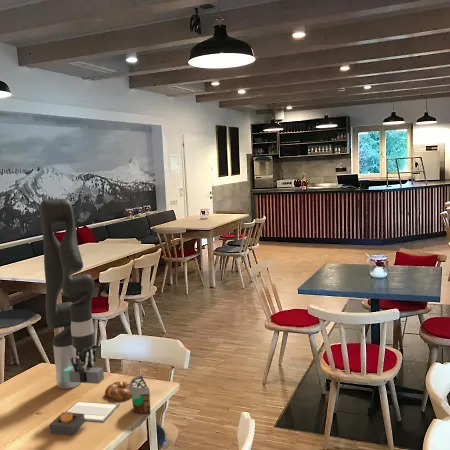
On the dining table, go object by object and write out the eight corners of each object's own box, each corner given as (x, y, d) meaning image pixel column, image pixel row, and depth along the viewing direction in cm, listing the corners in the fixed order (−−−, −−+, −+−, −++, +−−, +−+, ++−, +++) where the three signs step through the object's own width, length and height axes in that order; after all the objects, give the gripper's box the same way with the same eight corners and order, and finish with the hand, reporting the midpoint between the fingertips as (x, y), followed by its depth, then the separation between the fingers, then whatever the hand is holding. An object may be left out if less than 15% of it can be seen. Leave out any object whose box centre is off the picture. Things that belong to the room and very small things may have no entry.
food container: (127, 403, 176) (125, 377, 175) (144, 400, 178) (142, 374, 177) (133, 419, 165) (131, 391, 164) (151, 415, 167) (149, 387, 166)
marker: (104, 378, 171) (103, 367, 171) (98, 383, 167) (97, 372, 167) (70, 376, 174) (69, 366, 174) (63, 381, 171) (62, 370, 170)
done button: (65, 418, 164) (64, 411, 164) (75, 419, 163) (74, 412, 163) (58, 424, 160) (58, 417, 160) (69, 425, 159) (68, 418, 159)
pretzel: (141, 395, 183) (140, 386, 182) (114, 405, 176) (113, 395, 176) (126, 384, 192) (126, 376, 192) (101, 393, 186) (100, 384, 185)
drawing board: (77, 401, 180) (77, 400, 180) (119, 405, 176) (119, 403, 176) (59, 418, 168) (58, 417, 168) (103, 422, 164) (103, 420, 164)
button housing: (63, 420, 167) (63, 412, 166) (84, 422, 165) (84, 413, 164) (50, 433, 159) (49, 424, 159) (71, 435, 157) (71, 426, 157)
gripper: (81, 339, 161) (86, 389, 163) (102, 325, 174) (106, 371, 176) (61, 338, 163) (66, 387, 165) (83, 324, 176) (87, 370, 178)
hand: (87, 378), depth 170 cm, fingers closed on marker, 4 cm apart
